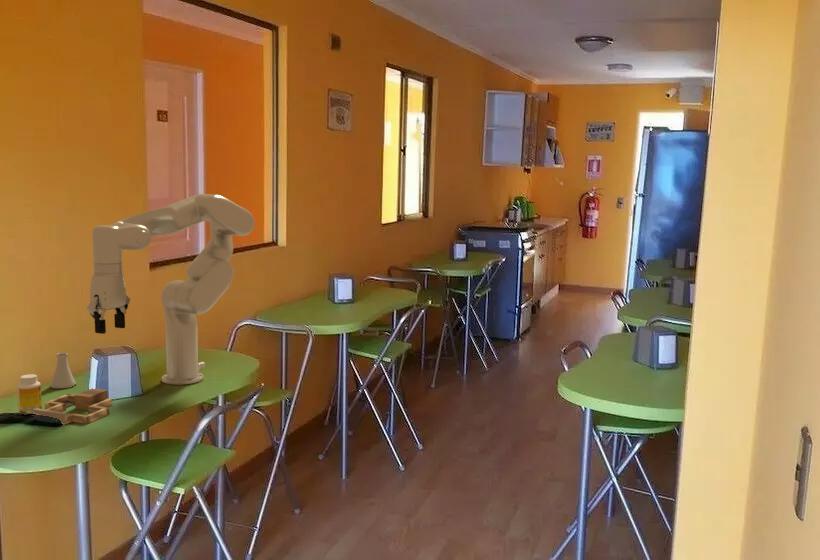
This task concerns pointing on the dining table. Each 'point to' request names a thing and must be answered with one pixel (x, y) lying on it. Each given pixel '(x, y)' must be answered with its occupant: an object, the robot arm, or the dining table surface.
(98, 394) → the walnut block
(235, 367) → the dining table surface
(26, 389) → the supplement bottle
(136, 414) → the dining table surface
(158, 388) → the dining table surface
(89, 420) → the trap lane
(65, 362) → the flask
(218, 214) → the robot arm
